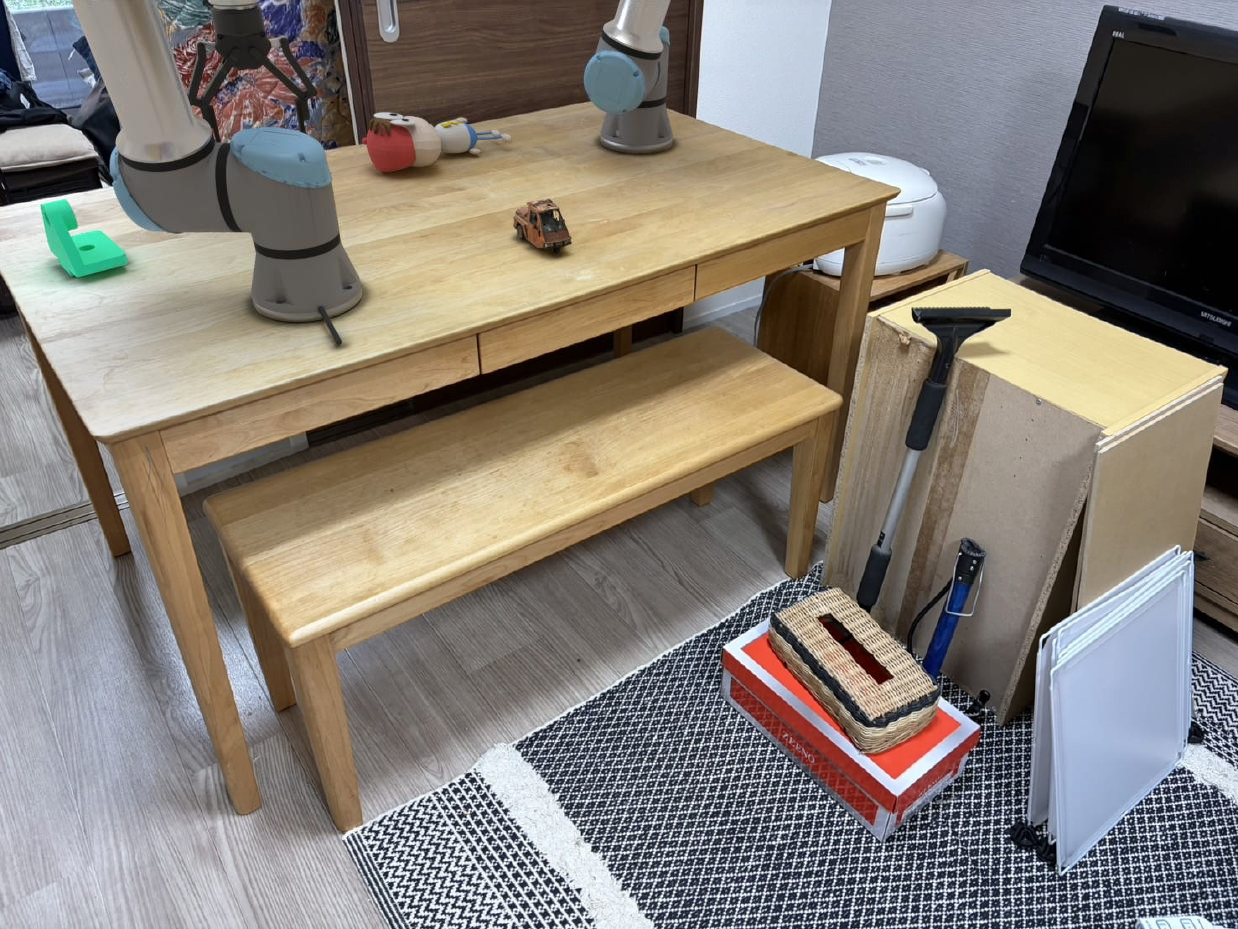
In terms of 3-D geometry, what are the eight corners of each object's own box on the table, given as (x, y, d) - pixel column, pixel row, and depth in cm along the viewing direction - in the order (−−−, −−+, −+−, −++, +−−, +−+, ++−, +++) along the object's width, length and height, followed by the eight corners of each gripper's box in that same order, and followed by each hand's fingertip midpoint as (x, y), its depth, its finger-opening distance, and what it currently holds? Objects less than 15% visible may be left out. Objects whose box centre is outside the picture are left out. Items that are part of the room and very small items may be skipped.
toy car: (537, 226, 158) (536, 186, 154) (580, 250, 150) (580, 209, 146) (506, 235, 154) (504, 194, 150) (548, 260, 147) (547, 218, 143)
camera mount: (132, 270, 140) (111, 204, 134) (79, 284, 136) (55, 217, 130) (104, 244, 147) (84, 181, 141) (53, 257, 143) (29, 192, 137)
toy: (528, 119, 180) (378, 122, 165) (527, 172, 185) (381, 180, 170) (487, 104, 193) (345, 105, 178) (486, 154, 198) (348, 160, 183)
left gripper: (314, -3, 151) (334, 130, 163) (147, 4, 142) (182, 144, 155) (321, 5, 145) (341, 142, 157) (148, 13, 137) (184, 157, 149)
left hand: (262, 144), depth 156 cm, fingers open, 13 cm apart
